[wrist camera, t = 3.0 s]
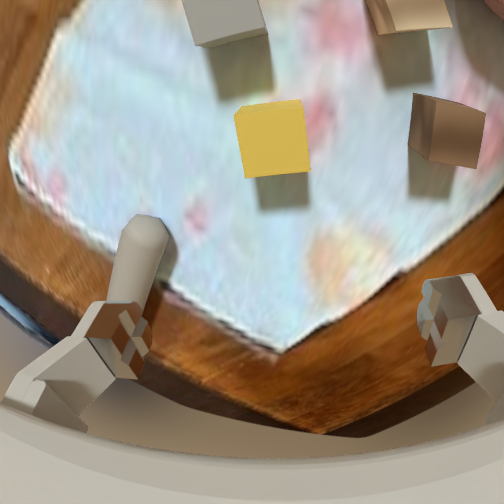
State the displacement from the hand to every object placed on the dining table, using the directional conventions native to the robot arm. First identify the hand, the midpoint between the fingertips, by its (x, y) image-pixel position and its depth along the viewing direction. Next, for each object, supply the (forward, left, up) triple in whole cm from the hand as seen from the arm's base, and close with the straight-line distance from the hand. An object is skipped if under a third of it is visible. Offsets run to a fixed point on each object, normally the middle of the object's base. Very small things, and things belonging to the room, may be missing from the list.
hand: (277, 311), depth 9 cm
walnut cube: (0, +14, -22) cm, 26 cm away
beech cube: (-11, +11, -22) cm, 27 cm away
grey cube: (-11, -3, -22) cm, 25 cm away
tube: (+16, -21, -22) cm, 35 cm away
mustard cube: (0, -1, -22) cm, 22 cm away
